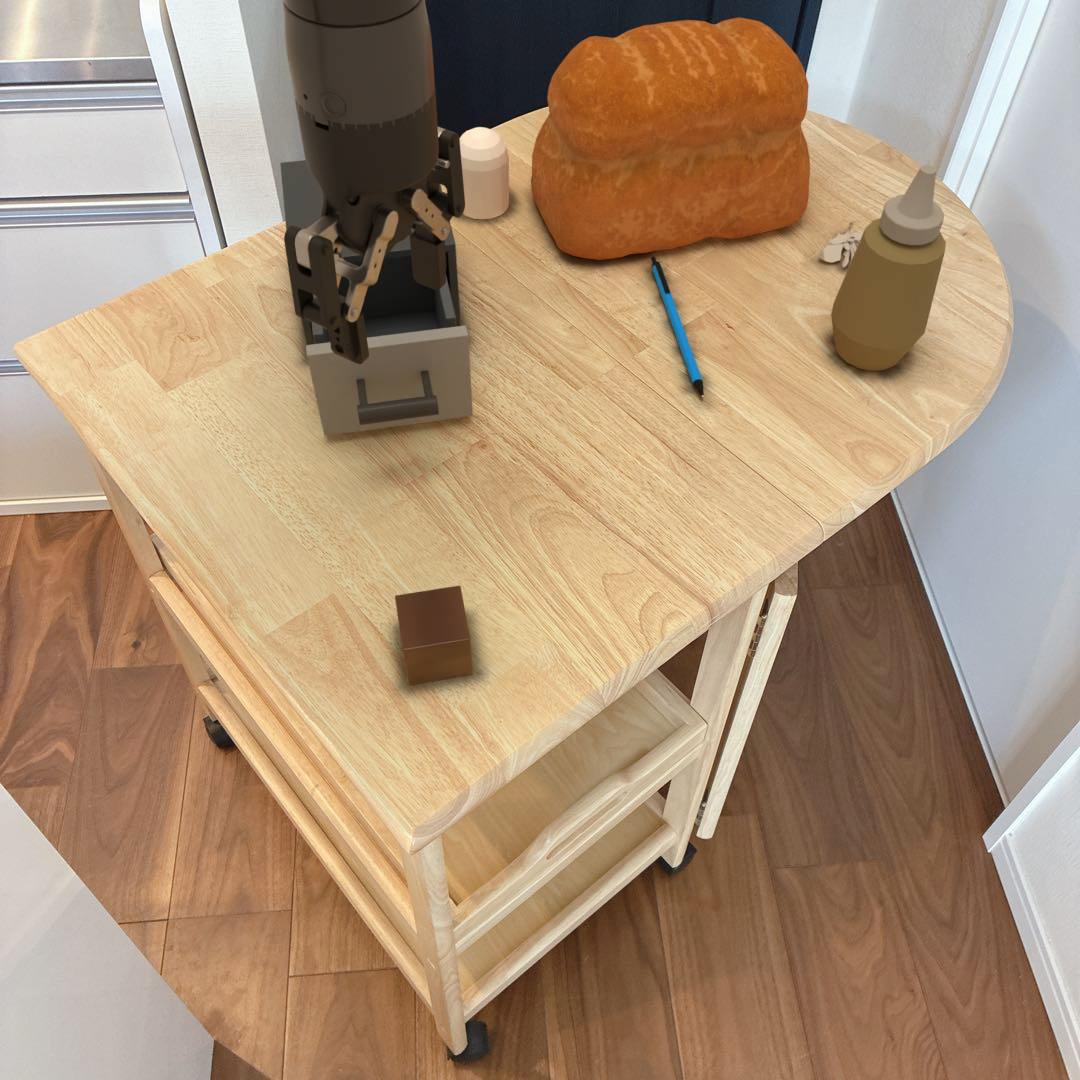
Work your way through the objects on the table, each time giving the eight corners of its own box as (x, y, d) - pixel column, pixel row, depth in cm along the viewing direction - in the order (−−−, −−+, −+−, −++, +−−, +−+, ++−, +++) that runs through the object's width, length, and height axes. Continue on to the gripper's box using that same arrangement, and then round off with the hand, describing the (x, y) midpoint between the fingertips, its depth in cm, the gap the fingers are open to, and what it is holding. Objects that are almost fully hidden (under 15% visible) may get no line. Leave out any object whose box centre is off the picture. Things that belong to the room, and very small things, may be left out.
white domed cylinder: (520, 203, 107) (519, 130, 101) (483, 226, 105) (480, 153, 98) (482, 182, 109) (479, 109, 103) (445, 204, 107) (440, 131, 100)
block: (408, 685, 72) (402, 650, 69) (400, 631, 75) (394, 595, 72) (473, 674, 73) (470, 639, 69) (463, 621, 76) (460, 584, 72)
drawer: (481, 454, 85) (477, 373, 78) (328, 475, 83) (310, 395, 76) (449, 312, 95) (443, 230, 88) (312, 328, 94) (296, 246, 87)
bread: (816, 232, 105) (860, 63, 91) (564, 276, 100) (570, 104, 86) (753, 147, 114) (784, -19, 100) (519, 183, 109) (519, 15, 96)
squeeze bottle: (924, 338, 95) (994, 157, 81) (899, 393, 91) (968, 212, 76) (838, 309, 97) (891, 129, 83) (809, 362, 93) (860, 181, 79)
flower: (909, 289, 101) (919, 269, 99) (830, 300, 100) (839, 280, 98) (880, 232, 105) (890, 211, 102) (804, 241, 103) (812, 221, 101)
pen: (657, 261, 101) (658, 251, 100) (707, 400, 90) (709, 390, 89) (648, 262, 101) (649, 252, 100) (697, 401, 90) (698, 391, 89)
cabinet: (461, 341, 94) (455, 244, 86) (310, 360, 92) (289, 262, 84) (439, 244, 103) (431, 146, 95) (300, 259, 101) (280, 162, 93)
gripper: (386, 10, 61) (409, 244, 74) (219, 121, 54) (276, 361, 66) (495, 44, 59) (499, 281, 72) (337, 166, 51) (373, 406, 64)
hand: (392, 319), depth 69 cm, fingers open, 8 cm apart
